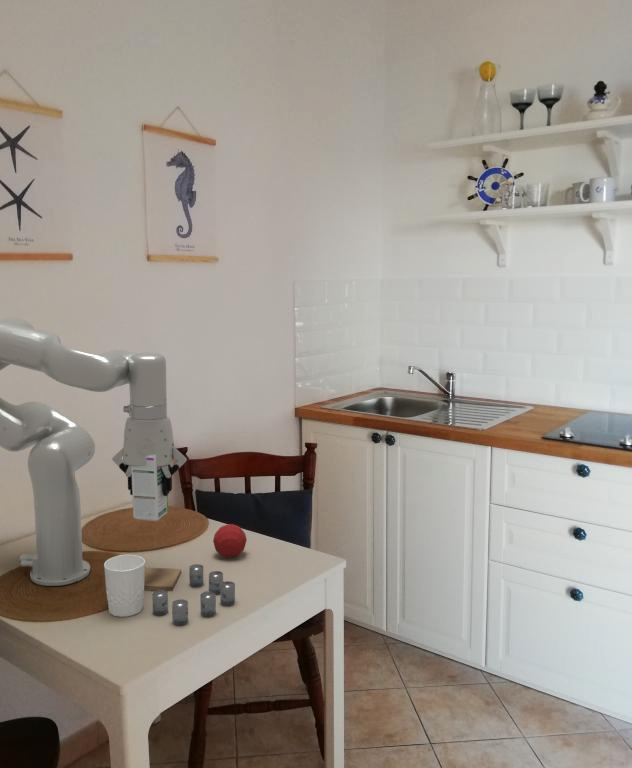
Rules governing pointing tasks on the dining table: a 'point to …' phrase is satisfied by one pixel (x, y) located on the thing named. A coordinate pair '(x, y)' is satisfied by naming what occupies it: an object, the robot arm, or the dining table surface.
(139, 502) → the syrup box
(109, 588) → the white cup
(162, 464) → the robot arm
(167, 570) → the tan board
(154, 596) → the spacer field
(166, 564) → the dining table surface
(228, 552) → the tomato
